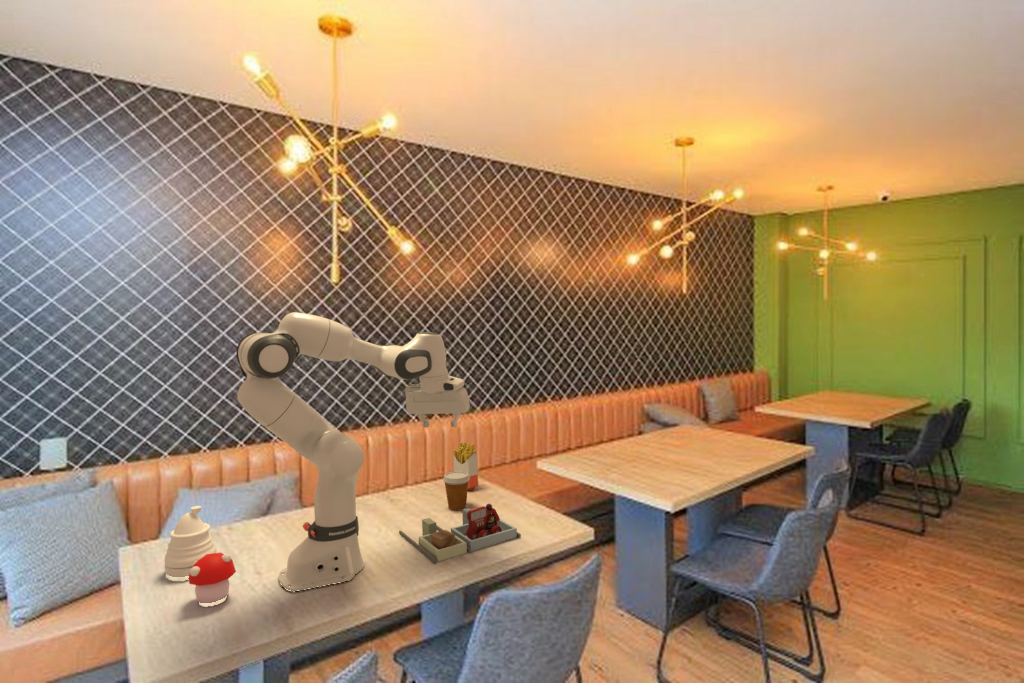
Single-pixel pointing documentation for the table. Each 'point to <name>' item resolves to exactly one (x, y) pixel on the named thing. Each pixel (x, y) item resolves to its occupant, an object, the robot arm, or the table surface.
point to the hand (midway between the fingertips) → (440, 426)
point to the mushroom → (212, 577)
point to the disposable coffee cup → (456, 489)
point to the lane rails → (425, 550)
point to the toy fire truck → (483, 522)
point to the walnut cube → (442, 539)
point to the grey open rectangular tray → (486, 541)
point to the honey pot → (188, 544)
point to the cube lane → (441, 554)
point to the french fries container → (467, 463)
